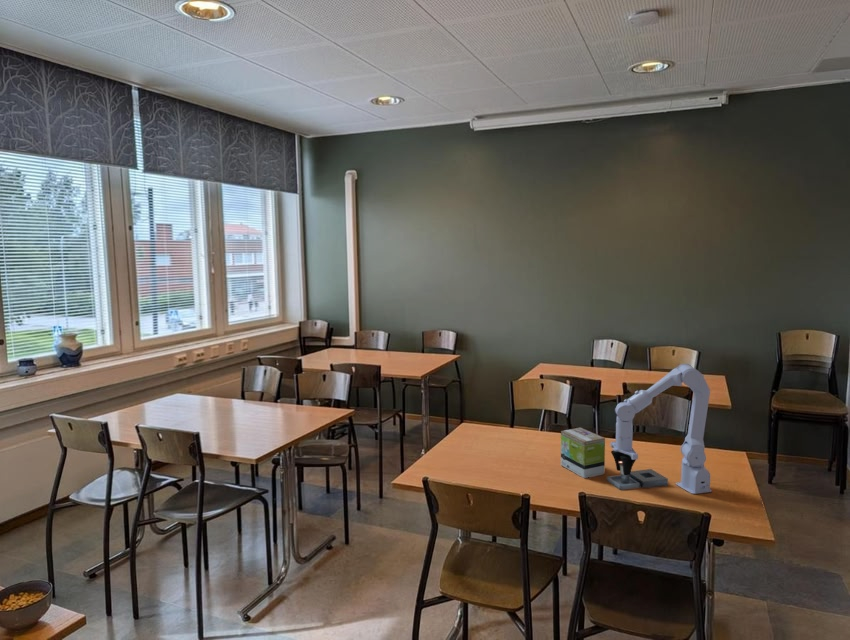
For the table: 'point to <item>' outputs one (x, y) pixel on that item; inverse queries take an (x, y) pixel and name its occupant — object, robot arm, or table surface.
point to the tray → (617, 483)
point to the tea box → (583, 452)
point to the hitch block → (649, 478)
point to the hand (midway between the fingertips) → (623, 472)
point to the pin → (623, 477)
